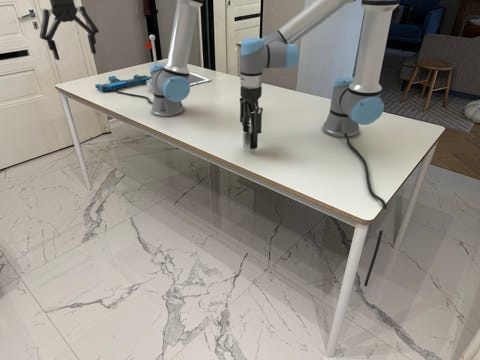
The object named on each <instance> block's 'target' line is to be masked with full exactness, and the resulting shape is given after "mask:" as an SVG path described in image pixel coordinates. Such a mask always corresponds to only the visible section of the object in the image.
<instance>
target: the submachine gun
mask: <svg viewBox="0 0 480 360" xmlns="http://www.w3.org/2000/svg"><path fill="white" fill-rule="evenodd" d="M150 79H151V76H148V75H146V74H145V75H144V74H143V75H139V74H134V75H133V78H129V79H122V80H120V79H119V78H117V76H115V75H112V76H108V80H109V81H110V82H109V83H104V84H100V83H96V84H94V85H95V89H97V90H99V92H107V91H113V92H115V91H114V89H115V90H117V89H120V88H121V89H122V88H126V87H129V86H130V87H131V86H134V85H140V84H147V82H146V81H147V80H149V81H150Z"/></svg>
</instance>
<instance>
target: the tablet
mask: <svg viewBox="0 0 480 360" xmlns="http://www.w3.org/2000/svg"><path fill="white" fill-rule="evenodd" d="M188 82H189V84H190V87H191V86H195V85H199V84H204V83H207V82H212V79H210V78H207V77H204V76H201V75H199V74H197V73H193V72H192V71H189V78H188Z"/></svg>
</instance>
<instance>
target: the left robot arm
mask: <svg viewBox="0 0 480 360" xmlns="http://www.w3.org/2000/svg"><path fill="white" fill-rule="evenodd" d="M204 1H205V0H176V7H175V13H174V19H173V26H172V32H171V37H170V44H169V49H168V56H167V61H166V62H161V63H157V64H154V63H153V64H151V65H150V67H149V73H150V77H151V80H152V87H153V93H152V94H153V100H152V101H151V100H150V98H149V97H148V96H145V95H139V94H134V93H128V92H123V91H120V90H117V89H114V91H113V92H116V93H119V94H121V95H127V96H132V97H138V98H143V99H146V100H147V101H148V103H149V104H152V106H151V111H152V114H153V115H154V116H157V117H174V116H177V115H180V114H181V113H183V112H184V105H183V103H182V101H184V100H185V99H187V98H188V96H189V94H190V92H191V86H190V84H189V82H188V78H189V72H190V70H189V68H188V65H189V60H190V59H189V58H190V53H191V49H192V48H191V47H192V44H193V43H192V42H193V37H194V32H195V27H196V23H197V22H196V21H197V16H198V11H199V8H200V7H202V6H204ZM49 4H50V6H51V9H46V8H42V11H41V12H42V21H41V26H40V32H39V38H40V39H41V40H43V41H46V43H47V46H48V50H49V51H52V52H53V57H54V59H55V60H57V61H60V59H61V58H60V55H59V52H58V49H57V45H56V41H55V40H54V39H53V38H54V36H55V35H56V32H57V30H58V28H59V26H60V24H61V23H67V22H76V23H77V24H78V25H79V26H80V27H81V28H82V29H83V30H84V31H85V32H86V33H88V34H87V39H88V44H89V48H90V52H91V54H93V55H96V54H97V50H96V44H97V40H96V34H99V29H98V27H97V26H96V25H95V23H94V22H93V20H92V18H91V17H90V16H89V14H88V13H87V11H86V8H85V6H84V5H79V6H76V5H75V0H49ZM78 13H79V14H81V16H82V17H83V19H84V20H85V22H86V23H87V24H88V25H87V24H86V23H84V21H82V20H81V19H80V18H79V17H78V16H77V14H78ZM52 15H53V16H54V18H53V22H52V23H51V25H50V27H49V22H50V17H51V16H52ZM48 28H49V29H48Z"/></svg>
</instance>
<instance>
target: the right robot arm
mask: <svg viewBox="0 0 480 360" xmlns="http://www.w3.org/2000/svg"><path fill="white" fill-rule="evenodd" d="M355 1H357V0H314V1H313V2H312V3H310V4H309V5H307V6H306V7H305V8H304V9H303V10H301V11H300V12H299V13H297V14H296V15H295V16H294V17H293V18H292V19H290V20H289V21H288V22H286V23H285V24H284V25H282V26H281V27H280V28H278V29H277V30H276V31H274V32H273V33H272V34H268V35H265V36H263V38H261V37H246V38H243V39H242V40H241V41H240V52H239V54H240V78H239V80H240V94H239V95H240V97H239V122H240V123H241V126H242V130H243V129H244V128H247V127H251V131H252V132H251V133H250V149H255V148H256V149H258V135H259V134H262V125H263V124H262V121H263V117H262V116H263V112H264V108H263V107H260V105H259V104H260V103H259V99H261V98H262V92H263V87H262V85H263V69H288V68H294V67H297V65H298V63H299V60H300V59H299V58H300V51H299V46H298V45H297V43H298V42H299V41H300V40H301V39H303V38H304V37H305V36H307V35H308V34H309V33H311V32H312V31H313V30H314V29H316V28H317V27H319V26H320V25H321V24H323V23H324V22H325V21H326V20H327V19H329V18H330V17H332V16H333V15H334V14H335V13H337V12H338V11H339V10H341V9H342V8H343V7H345V6H346V5H347V4H353V3H355ZM400 1H401V0H361V2H360V5H361V7H362V8H363V9H364V13H363V20H362V27H361V33H360V40H359V46H358V53H357V58H356V66H355V71H354V77H353V76H350V77H349V76H346V77H345V76H343V77H338V78H336V79H335V80H334V82H333V86H332V93H331V99H330V100H331V101H330V107H329V112H328V115H327V117H326V120H325V121H324V123H323V126H322V130H323V132H324V133H325V134H326V135H329V136H332V137H335V138H339V139H341V138H342V139H345V140H346V143H347V145H348V147H349V148H350V149H351V150H352V151H353V152H354V153H355V154H356V156H358V157H359V159H360V160H361V162H362V163H363V166H364V170H365V176H366V184H367V188H368V192H369V193H370V195H371V196H372V197H373V198H375V199H376V200H378V201H379V202H380V203H381V205H382V207H383V209H384V210H387V209H388V207H387V204H386V201H385V200H384V199H383V198H382V197H380V196H378V195H377V194H375V192H374V190H373V189H372V185H371V179H370V172H369V167H368V164H367V161H366V159H365V158H364V157H363V155H361V153H360V152H359V151H358V150H357V149H356V148H355V147H354V146H353V145H352V143H351V142H350V140H349V138H354V137H356V136H357V135H359V132H360V125H361V126H366V125H370V124H374V123H375V122H376V121H377V120H378V119H379V118H380V117H381V116H382V114H383V112H384V109H385V104H384V102H383V99H381V94H382V91H383V90H382V89H383V87H382V85H381V84H380V83H379V82H380V77H381V71H382V67H383V61H384V57H385V51H386V47H387V40H388V35H389V32H390V31H389V30H390V26H391V20H392V15H393V11H394V10H395V9H396V8H397V7H398V6H399V5H400ZM256 149H255V150H256ZM383 232H384V230H383V229H382V230H380V231H378V236H377V241H376V244H375V248H374V252H373V255H372V258H371V262H370V264H369V268H368V271H367V274H366V278H365V281H364V284H363V286H364V287H367V286H368V284H369V280H370V277H371V274H372V271H373V268H374V265H375V261H376V259H377V255H378V252H379V248H380V244H381V241H382V237H383Z"/></svg>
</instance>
